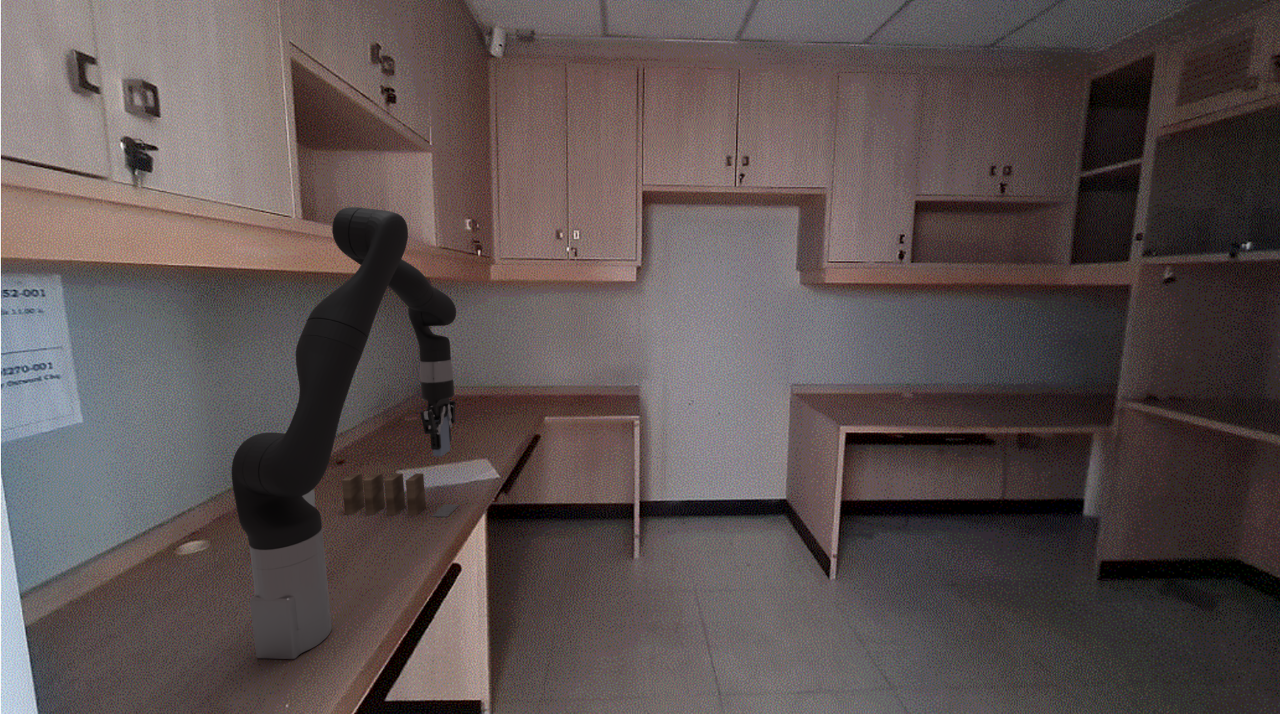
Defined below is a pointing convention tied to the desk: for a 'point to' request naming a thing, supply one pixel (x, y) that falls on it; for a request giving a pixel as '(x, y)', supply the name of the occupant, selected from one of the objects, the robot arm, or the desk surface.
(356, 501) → the tile
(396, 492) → the tile
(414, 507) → the tile
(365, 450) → the desk surface
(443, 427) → the blue-grey rectangular block
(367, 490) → the tile
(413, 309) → the robot arm
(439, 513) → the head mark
